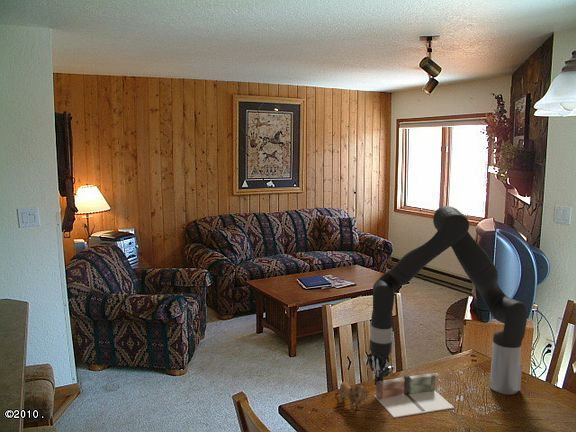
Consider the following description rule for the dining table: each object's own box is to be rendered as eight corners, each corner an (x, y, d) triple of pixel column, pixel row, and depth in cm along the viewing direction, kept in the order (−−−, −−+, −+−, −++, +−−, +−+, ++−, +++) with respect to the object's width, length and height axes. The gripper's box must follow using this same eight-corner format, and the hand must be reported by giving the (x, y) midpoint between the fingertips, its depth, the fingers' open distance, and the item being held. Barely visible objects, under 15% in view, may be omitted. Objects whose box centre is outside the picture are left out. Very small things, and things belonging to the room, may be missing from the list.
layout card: (430, 388, 177) (431, 386, 177) (454, 408, 164) (454, 406, 164) (374, 396, 171) (374, 394, 171) (393, 417, 158) (393, 416, 158)
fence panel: (401, 392, 172) (402, 377, 172) (404, 394, 171) (405, 379, 170) (376, 396, 169) (376, 381, 168) (378, 399, 168) (379, 384, 167)
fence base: (431, 388, 176) (432, 371, 175) (434, 391, 174) (435, 374, 173) (402, 392, 173) (403, 375, 172) (405, 395, 171) (405, 378, 170)
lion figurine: (370, 412, 161) (371, 386, 160) (359, 417, 158) (359, 391, 157) (340, 393, 173) (341, 369, 171) (328, 398, 170) (329, 373, 168)
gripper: (402, 343, 164) (399, 392, 167) (378, 329, 176) (376, 374, 179) (383, 347, 161) (380, 396, 164) (360, 332, 173) (358, 378, 176)
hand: (378, 385), depth 171 cm, fingers closed
